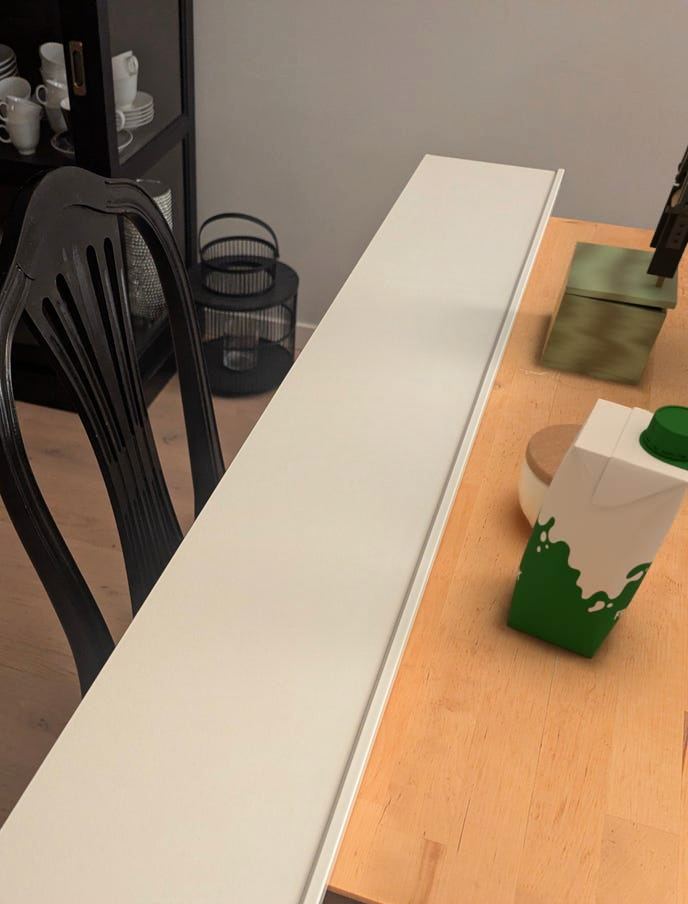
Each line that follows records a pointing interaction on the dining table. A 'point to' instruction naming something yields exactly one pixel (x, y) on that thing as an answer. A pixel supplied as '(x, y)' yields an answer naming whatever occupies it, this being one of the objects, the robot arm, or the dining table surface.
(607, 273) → the lid
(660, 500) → the soya milk
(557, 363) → the chest
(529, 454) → the trinket box
